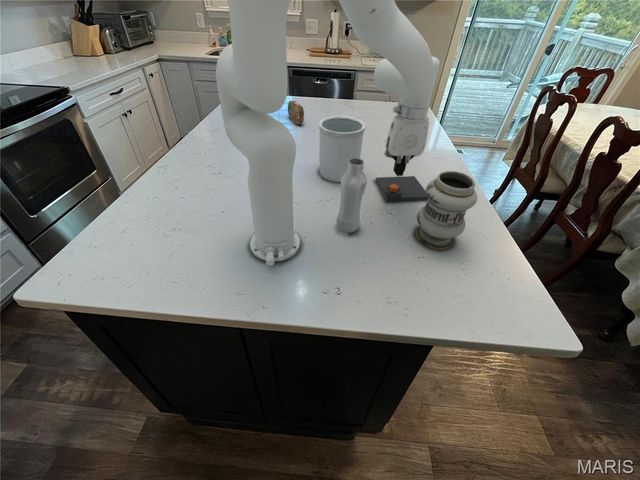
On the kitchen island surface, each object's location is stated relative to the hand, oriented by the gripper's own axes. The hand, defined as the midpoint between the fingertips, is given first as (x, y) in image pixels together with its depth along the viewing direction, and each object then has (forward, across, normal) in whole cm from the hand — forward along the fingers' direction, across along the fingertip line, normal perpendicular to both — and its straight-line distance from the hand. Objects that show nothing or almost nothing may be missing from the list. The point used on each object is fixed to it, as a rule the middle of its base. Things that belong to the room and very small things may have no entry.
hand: (398, 173), depth 89 cm
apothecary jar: (+8, +5, -20) cm, 23 cm away
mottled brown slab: (+9, -26, +68) cm, 73 cm away
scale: (+8, +4, +4) cm, 10 cm away
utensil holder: (+8, -15, +17) cm, 24 cm away
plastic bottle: (+8, -18, -14) cm, 24 cm away
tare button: (+6, 0, 0) cm, 6 cm away
